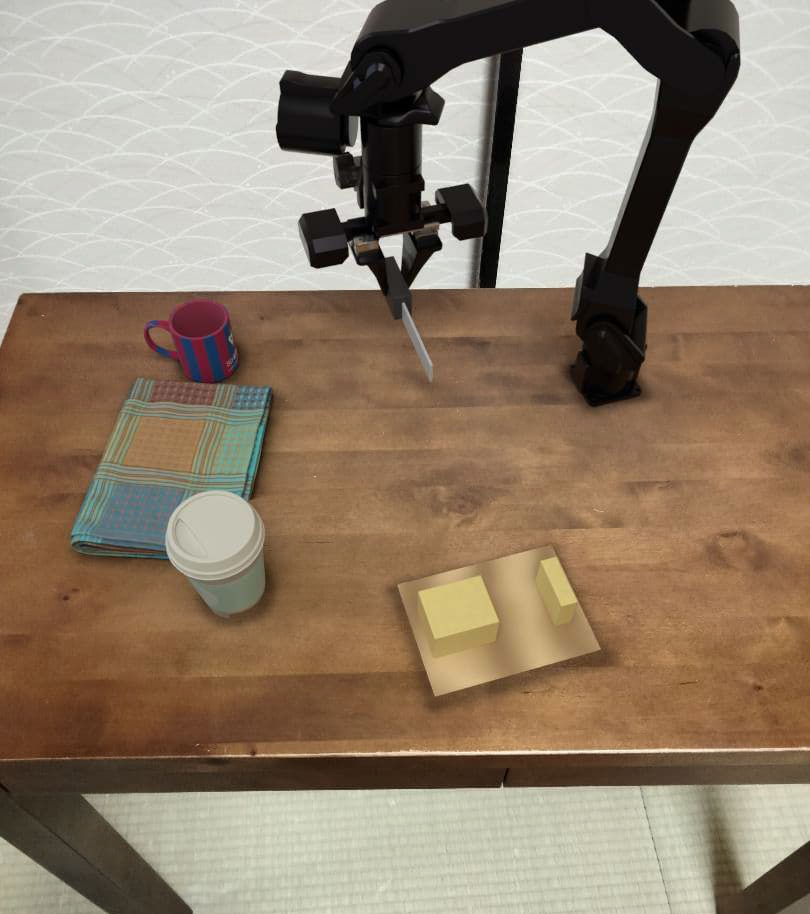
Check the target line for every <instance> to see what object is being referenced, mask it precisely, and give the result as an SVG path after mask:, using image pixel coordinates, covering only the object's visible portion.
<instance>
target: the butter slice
mask: <svg viewBox="0 0 810 914" xmlns="http://www.w3.org/2000/svg"><path fill="white" fill-rule="evenodd" d="M557 557H558V556H557ZM557 557H553V558H549V559H546V560H542V561H540V565H539V569H538V573H537V577H536V581H535V584H536V586H537V588H538V591H539V593H540V595H541V597H542V600H543V602H544V604H545V606H546V609H547V611H548V613H549V615H550V617H551V620H552V622H553V624H554V626H555V627H556V626H560V625H564V624H567V623H570V622H571V620H572V617H573V614H574V611H575V608H576V605H577V603H578V601H579V600H578V601H577V599H578V598H577V599H576V597H577V596H576V597H575V595H576V594H575V595H574V593H575V592H574V593H573V591H574V590H573V591H572V589H573V588H572V589H571V587H572V585H571V583H570V584H569V582H570V581H569V582H568V580H569V579H568V580H567V578H568V577H567V578H566V576H567V575H566V576H565V574H566V573H565V574H564V572H565V571H564V572H563V570H564V568H563V566H562V564H561V565H560V563H561V562H560V563H559V561H560V560H559V561H558V559H559V558H558V559H557ZM561 566H562V567H561ZM562 568H563V569H562ZM570 585H571V586H570Z"/></svg>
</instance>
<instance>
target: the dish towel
mask: <svg viewBox="0 0 810 914" xmlns="http://www.w3.org/2000/svg"><path fill="white" fill-rule="evenodd" d="M274 397H275V395H274V390H273V387H272V386H271V385H245V384H244V385H243V384H231V383H218V382H214V383H200V382H196V381H183V380H182V381H178V380H167V379H165V380H161V379H149V378H145V377H137V378H136V379H134V381H133V382H132V383H131V386H130V388H129V391H128V394H127V395H126V399H125V401H124V403H123V404H122V407H121V410H120V411H119V414H118V416H117V419H116V421H115V424H114V427H113V428H112V430H111V434H110V436H109V438H108V440H107V443H106V446H105V448H104V451H103V453H102V456H101V459H100V461H99V463H98V466H97V468H96V470H95V474H94V476H93V479H92V480H91V483H90V485H89V488H88V490H87V493H86V495H85V498H84V499H83V503H82V505H81V507H80V510H79V512H78V514H77V516H76V518H75V520H74V523H73V526H72V530H71V531H70V534H69V537H70V544H69V546H70V548H71V549H72V550H74V551H75V552H77V553H81V554H84V555H87V556H88V555H89V556H104V557H127V558H128V557H130V558H143V559H161V560H170V559H169V557H168V554H167V550H166V542H165V538H166V531H167V527H168V523H169V520H170V517H171V515H172V514H173V512H174V511H175V509H176V508H177V507H178V506H179V505H180V504H181V503H182V502H184V501H185V500H186V499H188V498H190V497H192V496H194V495H196V494H199V493H202V492H206V491H213V490H220V491H227V492H231V493H234V494H236V495H238V496H240V497H241V498H243V499H244V500H245V501H246V502H248V503H249V501H251V499H252V493H253V491H254V485H255V481H256V478H257V474H258V473H257V472H258V467H259V465H260V458H261V455H262V454H261V453H262V446H263V442H264V438H265V432H266V427H267V423H268V419H269V415H270V410H271V407H272V403H273V400H274Z"/></svg>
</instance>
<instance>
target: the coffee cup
mask: <svg viewBox="0 0 810 914" xmlns="http://www.w3.org/2000/svg"><path fill="white" fill-rule="evenodd" d="M265 531H266V530H265V525H264V522H263V519H262V517H261V516H260V514H259V513H258V511H257V510H256V509H255V507H254V506H253V505H252V504H251V503H249V501H248V502H246V501H245V500H244V499H243V498H241V497H240V496H238V495H236V494H234V493H231V492H227V491H220V490H213V491H206V492H202V493H199V494H196V495H194V496H192V497H190V498H188V499H186V500H185V501H184V502H182V503H181V504H180V505H179V506H178V507H177V508H176V509H175V511H174V512H173V514H172V515H171V517H170V520H169V523H168V527H167V531H166V538H165V542H166V550H167V554H168V557H169V559H168V560H169V561H170V563H171V564H172V565H173V566H174V567H175V569H177V570H178V571H179V572H180V573H182V574H183V575H184V576H185V577H186V578H187V580H188V581H189V582H190V584H191V585H192V587H194V589H195V590H196V592H197V593H198V595H199V596H200V597H201V598H202V600H203V601H204V602H205V603H206V605H207V606H208V607H209V609H210V610H211V611H212V612H213V613H214V614H216V616H219V617H222V618H224V619H227V620H229V619H230V620H231V615H234V614H239V613H243V612H245V611H248V610H249V609H251V608H253V607H254V606H255V605H256V604H257V603H258V602H259V601H260V600H261V598H262V597H263V595H264V592H265V589H266V571H265V559H264V557H265V556H264V543H265V537H266V532H265Z"/></svg>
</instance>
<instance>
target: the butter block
mask: <svg viewBox="0 0 810 914" xmlns="http://www.w3.org/2000/svg"><path fill="white" fill-rule="evenodd" d="M418 615H419V618H420V621H421V624H422V627H423V629H424V632H425V635H426V638H427V641H428V644H429V647H430V650H431V653H432V655H433V658H438V657H441V656H445V655H448V654H452V653H456V652H459V651H463V650H467V649H470V648H474V647H478V646H481V645H485V644H488V643H492V642H495V641H496V636H497V631H498V626H499V619H498V617H497V614H496V612H495V609H494V607H493V604H492V602H491V599H490V597H489V594H488V592H487V590H486V587H485V585H484V582H483V580H482V577H481V575H480V576H476V577H472V578H468V579H464V580H460V581H457V582H453V583H449V584H445V585H441V586H438V587H434V588H430V589H426V590H422V591H419V592H418Z"/></svg>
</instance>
